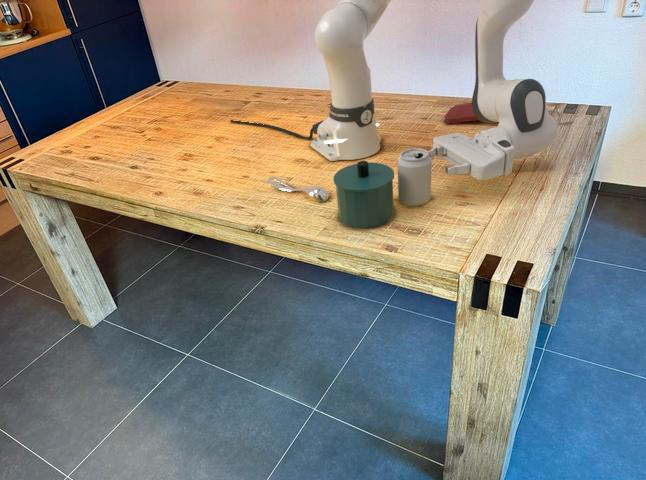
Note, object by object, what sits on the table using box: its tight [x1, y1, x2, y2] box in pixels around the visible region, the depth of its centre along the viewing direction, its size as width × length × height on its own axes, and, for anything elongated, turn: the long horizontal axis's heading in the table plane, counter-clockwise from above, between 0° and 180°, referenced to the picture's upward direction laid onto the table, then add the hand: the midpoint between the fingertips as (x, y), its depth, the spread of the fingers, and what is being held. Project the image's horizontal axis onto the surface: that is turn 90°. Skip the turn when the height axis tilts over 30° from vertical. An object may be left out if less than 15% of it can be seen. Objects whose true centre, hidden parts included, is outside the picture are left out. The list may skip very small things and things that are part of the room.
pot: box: [335, 179, 395, 229], centre depth 116 cm, size 12×12×10 cm
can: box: [397, 147, 433, 207], centre depth 117 cm, size 8×8×12 cm
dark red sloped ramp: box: [444, 102, 480, 125], centre depth 152 cm, size 12×5×25 cm
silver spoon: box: [267, 176, 329, 202], centre depth 132 cm, size 20×4×5 cm
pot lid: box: [333, 160, 395, 192], centre depth 112 cm, size 13×13×4 cm
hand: (435, 163), depth 116 cm, fingers open, 8 cm apart
